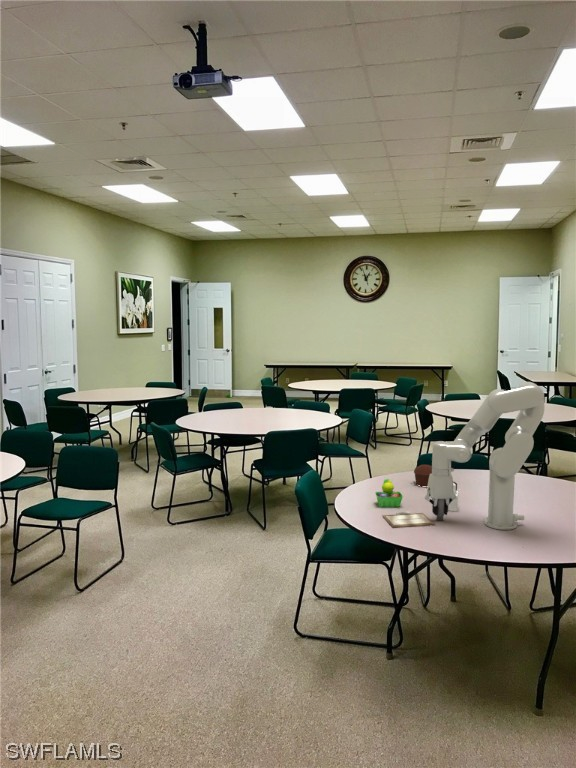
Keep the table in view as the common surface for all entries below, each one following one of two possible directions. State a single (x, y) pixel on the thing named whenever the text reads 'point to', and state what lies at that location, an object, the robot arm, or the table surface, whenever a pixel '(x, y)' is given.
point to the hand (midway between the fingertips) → (440, 513)
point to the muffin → (422, 474)
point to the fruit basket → (388, 495)
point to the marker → (440, 509)
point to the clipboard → (408, 520)
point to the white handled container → (454, 503)
